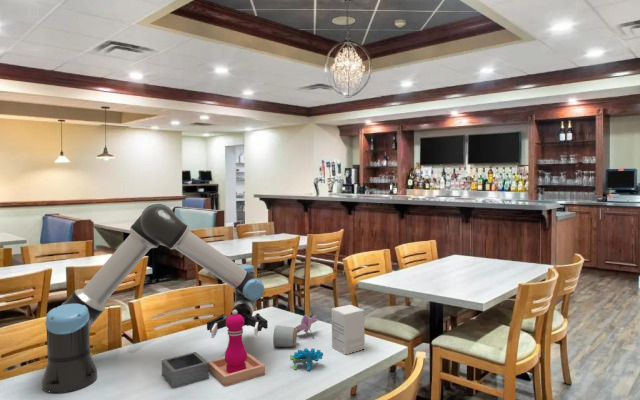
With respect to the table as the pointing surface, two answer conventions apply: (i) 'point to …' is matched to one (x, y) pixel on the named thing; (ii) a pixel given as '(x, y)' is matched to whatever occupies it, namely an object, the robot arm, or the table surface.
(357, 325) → the supplement box
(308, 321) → the lily
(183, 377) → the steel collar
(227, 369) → the pepper mill
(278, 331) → the ceramic mug
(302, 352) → the blue bumpy piece
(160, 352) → the table surface
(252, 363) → the terracotta tray
